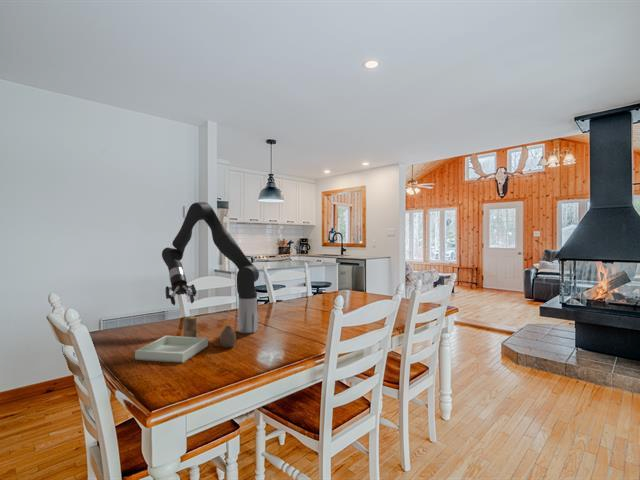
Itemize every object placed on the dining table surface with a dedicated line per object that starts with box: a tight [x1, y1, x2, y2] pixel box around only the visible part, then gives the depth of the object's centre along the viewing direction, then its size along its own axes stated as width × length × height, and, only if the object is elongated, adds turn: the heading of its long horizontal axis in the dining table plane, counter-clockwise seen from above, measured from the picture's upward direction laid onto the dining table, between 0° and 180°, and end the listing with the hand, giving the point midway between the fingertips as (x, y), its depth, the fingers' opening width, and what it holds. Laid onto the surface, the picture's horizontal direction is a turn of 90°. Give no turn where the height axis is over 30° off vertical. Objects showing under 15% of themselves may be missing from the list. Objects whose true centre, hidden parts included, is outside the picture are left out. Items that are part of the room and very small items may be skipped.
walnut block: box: [182, 315, 197, 337], centre depth 156 cm, size 5×5×10 cm
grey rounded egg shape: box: [219, 325, 237, 349], centre depth 146 cm, size 7×7×9 cm
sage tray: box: [134, 335, 209, 364], centre depth 138 cm, size 20×20×4 cm
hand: (183, 303), depth 165 cm, fingers open, 8 cm apart
